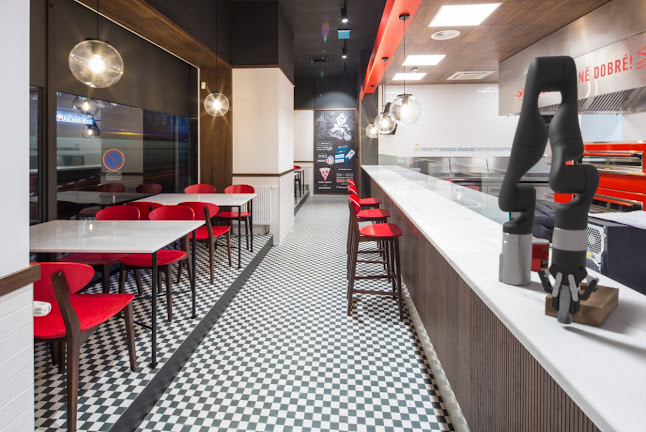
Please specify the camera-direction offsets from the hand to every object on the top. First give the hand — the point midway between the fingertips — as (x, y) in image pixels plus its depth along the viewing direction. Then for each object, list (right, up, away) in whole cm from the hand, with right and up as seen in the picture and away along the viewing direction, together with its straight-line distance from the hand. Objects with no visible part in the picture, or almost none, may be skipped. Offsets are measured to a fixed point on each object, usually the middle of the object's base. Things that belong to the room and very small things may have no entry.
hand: (565, 311), depth 107 cm
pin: (0, -3, 0) cm, 3 cm away
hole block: (+11, -2, +11) cm, 16 cm away
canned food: (+19, +4, +51) cm, 55 cm away
